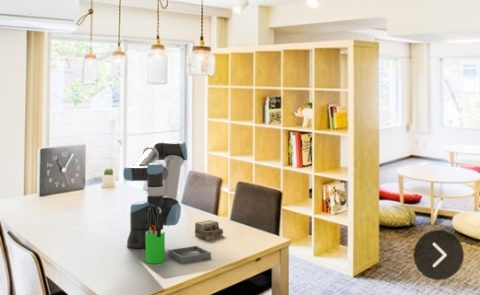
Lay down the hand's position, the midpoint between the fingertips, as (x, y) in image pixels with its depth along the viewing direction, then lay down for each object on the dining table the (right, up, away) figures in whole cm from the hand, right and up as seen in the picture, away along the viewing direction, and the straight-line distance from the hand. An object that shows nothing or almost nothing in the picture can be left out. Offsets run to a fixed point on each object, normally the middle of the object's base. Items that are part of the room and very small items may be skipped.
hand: (155, 241), depth 200 cm
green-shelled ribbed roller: (0, -10, 0) cm, 10 cm away
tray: (+16, -9, +7) cm, 20 cm away
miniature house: (+23, -9, +37) cm, 44 cm away
